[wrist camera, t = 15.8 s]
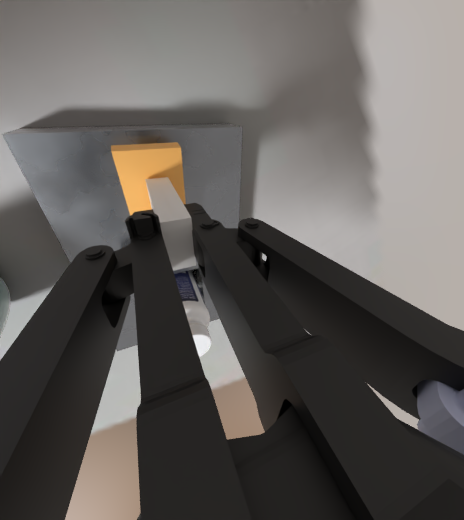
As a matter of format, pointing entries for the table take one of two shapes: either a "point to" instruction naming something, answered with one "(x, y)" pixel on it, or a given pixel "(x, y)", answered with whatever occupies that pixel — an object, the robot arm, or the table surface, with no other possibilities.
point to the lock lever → (147, 170)
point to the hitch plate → (110, 190)
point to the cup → (4, 304)
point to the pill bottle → (194, 310)
